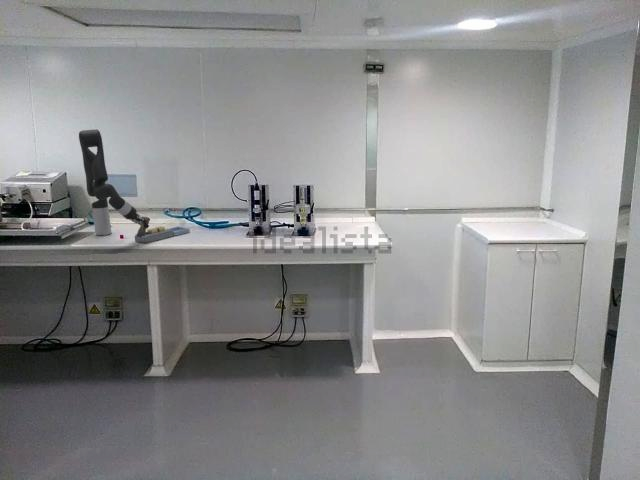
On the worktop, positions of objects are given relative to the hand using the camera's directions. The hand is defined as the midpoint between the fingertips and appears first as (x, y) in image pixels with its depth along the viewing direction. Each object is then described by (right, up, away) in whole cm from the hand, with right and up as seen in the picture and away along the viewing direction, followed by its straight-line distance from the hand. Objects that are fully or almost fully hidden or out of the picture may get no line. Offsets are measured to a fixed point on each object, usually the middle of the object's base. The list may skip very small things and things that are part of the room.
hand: (146, 226), depth 289 cm
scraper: (-2, -5, -3) cm, 6 cm away
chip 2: (+5, -3, +9) cm, 11 cm away
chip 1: (+2, -4, +4) cm, 7 cm away
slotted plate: (+3, -7, +6) cm, 10 cm away
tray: (+12, -4, +19) cm, 23 cm away
